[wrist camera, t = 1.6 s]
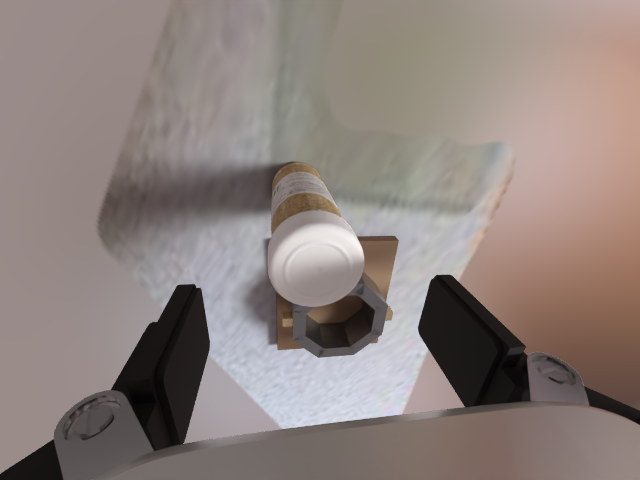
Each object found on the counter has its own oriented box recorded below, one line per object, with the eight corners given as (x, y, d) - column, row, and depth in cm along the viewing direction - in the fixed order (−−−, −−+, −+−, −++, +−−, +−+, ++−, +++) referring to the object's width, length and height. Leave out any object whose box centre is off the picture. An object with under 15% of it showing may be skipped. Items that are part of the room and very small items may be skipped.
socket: (281, 265, 27) (282, 287, 23) (388, 262, 28) (402, 282, 25) (282, 333, 31) (282, 360, 28) (375, 327, 32) (386, 352, 29)
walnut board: (275, 237, 26) (275, 242, 25) (394, 236, 28) (398, 240, 27) (277, 343, 33) (277, 350, 32) (374, 336, 34) (377, 342, 33)
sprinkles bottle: (306, 219, 26) (331, 322, 14) (262, 195, 24) (248, 290, 12) (332, 177, 24) (386, 253, 12) (287, 149, 23) (300, 206, 11)
